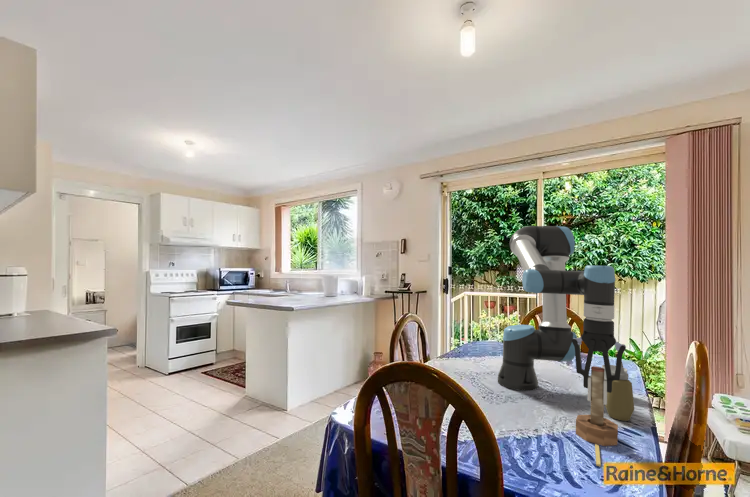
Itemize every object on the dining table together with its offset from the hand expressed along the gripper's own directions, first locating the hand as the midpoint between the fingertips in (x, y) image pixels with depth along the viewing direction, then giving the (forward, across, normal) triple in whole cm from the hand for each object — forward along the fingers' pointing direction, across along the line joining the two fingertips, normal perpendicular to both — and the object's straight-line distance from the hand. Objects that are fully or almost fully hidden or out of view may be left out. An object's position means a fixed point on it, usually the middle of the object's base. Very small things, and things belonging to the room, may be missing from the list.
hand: (597, 401), depth 104 cm
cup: (+10, +3, +44) cm, 45 cm away
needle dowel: (+7, 0, 0) cm, 7 cm away
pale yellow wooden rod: (+10, +1, -12) cm, 16 cm away
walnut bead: (+10, 0, 0) cm, 10 cm away
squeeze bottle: (+10, +5, +20) cm, 23 cm away
